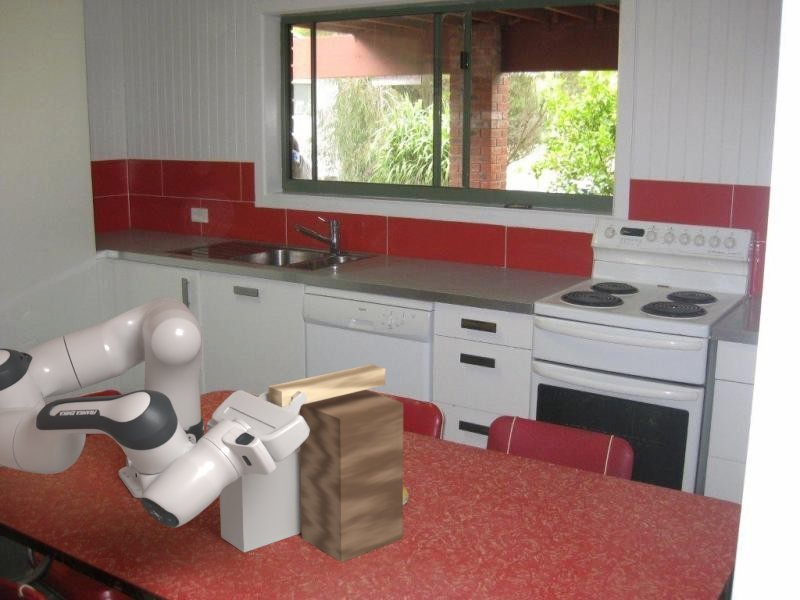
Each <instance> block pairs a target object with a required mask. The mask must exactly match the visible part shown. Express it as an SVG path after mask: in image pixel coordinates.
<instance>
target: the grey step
mask: <svg viewBox="0 0 800 600" xmlns="http://www.w3.org/2000/svg"><path fill="white" fill-rule="evenodd" d="M275 464H276V469H275V470H274V471H273V472H272V473H271V474H269V475H262V474H247V475H246V474H244V473H243V474H242V475H241V476H240V477H239V478H238V479H237V480H236V481H234V482H232V483H230V484H228V485H227V486H226V487H225V488H224V489H223V490H222V491H221V493H220V495H219V509H220V510H219V512H220V519H219V520H220V537H221V539H223V540H224V541H227V542H228V543H229V544H231V545H232V546H233V547H236V549H238V550H239V551H241V552H242V553H247V552H249V551H253V550H257V549H259V548H262V547H265V546H267V545H270V544H273V543H276V542H279V541H282V540H285V539H287V538H291V537H294V536H297V535H299V534H302V519H301V458H300V446H299V447H298V448H297V449H296V450H295V451H294V452H293V453H291V454H290V455H289V456H288V457H287V458H285V459H284V460H282V461H280V462H275Z"/></svg>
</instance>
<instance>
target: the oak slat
mask: <svg viewBox="0 0 800 600" xmlns="http://www.w3.org/2000/svg"><path fill="white" fill-rule="evenodd" d="M382 386H386V368H384V367H380V366H377V365H375V364H371V363H370V364H367V365H362V366H357V367H352V368H346V369H343V370H338V371H334V372H333V371H332V372H329V373H324V374H320V375H314V376H310V377H305V378H301V379H295V380H291V381H287V382H282V383H277V384H274V385H269V386H268V391H269V402H270V403H273V404H275V405H277V406H280V407H282V408H284V407H285V406H286V405H290V403H291V401H292V400H293V399H292V397H291V396H292V395H293V394H295V393H296V392H297V391H300V392H303V393H305V395H306V397H307V401H306V402H305V403H304V404H307V403H311V402H315V401H319V400H324V399H328V398H332V397H336V396H341V395H345V394H349V393H353V392H358V391H362V390H371V389H373V388H378V387H382Z"/></svg>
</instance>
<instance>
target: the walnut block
mask: <svg viewBox="0 0 800 600" xmlns="http://www.w3.org/2000/svg"><path fill="white" fill-rule="evenodd" d="M299 415H301V416H302V417H303V418H304V420H305V421H306V423H307V425H308V427H309V429H310V432H309V436H308V437H307V439H306V440H305V441H304V442H303V443H302V444H301V445H300V458H301V519H302V533H301V539H302V540H303V541H305V542H307V543H308V544H310V545H311V546H313V547H315V548H316V549H318V550H319V551H322V552H324V554H327V555H328V556H330V557H331V558H333V559H335V560H336V561H338V562H340V563H344V562H346V561H349V560H352V559H354V558H357V557H359V556H362V555H365V554H368V553H370V552H372V551H376V550H377V549H380V548H382V547H385V546H389V545H391V544H393V543H396V542H398V541H401V540H403V535H404V534H403V530H404V528H403V527H404V526H403V523H404V522H403V521H404V520H403V513H404V512H403V511H404V510H403V507H404V505H403V487H404V402H401V401H400V400H399V401H398V400H396V399H394V398H391V397H389V396H384V395H383V394H379V393H376V392H374V391H372V390H369V389H366V390H362V391H358V392H353V393H349V394H345V395H341V396H336V397H332V398H328V399H324V400H319V401H315V402H311V403H307V404H303V405H302V406H301V408H300V410H299Z"/></svg>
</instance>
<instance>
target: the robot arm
mask: <svg viewBox="0 0 800 600" xmlns="http://www.w3.org/2000/svg"><path fill="white" fill-rule="evenodd" d="M202 331H203V330H202V328H201V325H200V322H199V321H198V319H197V318H196V316H195V315H194V314H193V313H192V311H191V310H190V309H189V307H188V306H187V305H186V303H183V302H182V301H181V300H179V299H178V298H173V297H168V296H165V297H164V296H163V297H157V298H155V299H152V300H151V301H149V302H148V301H147V303H142V304H141V305H139V306H137V307H134V308H132V309H129V310H127V311H125V312H123V313H121V314H119V315H116V316H115V317H112V318H109V319H108V320H105V321H103V322H100V323H97V324H95V325H92V326H89V327H85V328H82V329H79V330H76V331H73V332H69V333H67V334H64V335H60V336H58V337H56V338H52V339H50V340H48V341H45V342H43V343H39V344H38V345H37V346H35V347H32V348H30V349H28V350H26V351H25V352H23V351H22V352H21V351H19V350H15V349H12V348H0V466H2V467H6V468H9V469H13V470H15V471H21V472H26V473H35V474H42V475H44V474H45V475H52V474H58V473H63V472H64V471H66V470H68V469H69V468H70V467H72V466H73V465H74V464H75V463H76V462H77V460H78V459H79V458H80V456H81V455H82V452H83V451H84V448H85V444H86V438H87V435H88V434H89V435H93V434H95V435H96V434H105V435H106V436H108V437H110V438H111V439H112V440H113V441H115V443H116V444H117V445H119V446H120V448H121V449H122V450H123V452H124V454H125V456H126V459H125V463H126V466H124V467H122V468H120V469H119V470H118V477H119V478H120V480H121V481H122V482H123V484H124V485H125V486H126V488H127V489H128V490H129V493H131V495H132V496H133V497H134V498H136V499H140V503H141V505H142V507H143V509H144V510H145V511H146V512H147V513H148V514H149V516H151V517H152V518H153V519H154V520H155V521H157V522H158V523H159V524H161V525H162V526H165V527H168V528H175V529H176V528H178V527H181V526H183V525H186V524H187V523H188V522H190V521H191V520H193V519H194V518H195V517H197V516H198V515H200V514H201V513H202V512H203V511H204V510H205V509H207V508H208V507H209V506H210V505H211V504H212V503H213V502H215V500H216V499H217V498H219V497H220V493H221V491H222V490H223V489H224V488H225V487H226V486H227V485H228V484H230V483H232V482H234V481H236V480H237V479H238V478H239V477H240V476H241V475H242V474H243V473H244V474H246V475H247V474H262V475H269V474H271V473H272V472H273V471H274V470H275V469H276V464H275V462H280V461H282V460H284V459H285V458H287V457H288V456H289V455H290V454H291V453H293V452H294V451H295V450H296V449H297V448H298V447H299V446H300V445H301V444H302V443H303V442H304V441H305V440H306V439H307V437H308V436H309V432H310V429H309V427H308V425H307V423H306V421H305V420H304V418H303V417H302V416H301V415H300V408H301V406H302V405H303V404H304V403H305V402H306V401H307V397H306V395H305V393H303V392H300V391H297V392H296V393H295V394H293V395H292V396H291V397H292V399H293V400H292V401H291V403H290V405H286V406H285V407H284V408H282V407H280V406H277V405H275V404H273V403H270V402H269V390H267V391H265V392H263V393H261V394H260V395H258V396H256V395H253V394H252V393H249V392H247V391H245V390H242V389H239V390H236V391H234V392H232V393H231V394H230V395H229V396H228V397H227V398H226V399H224V401H223V402H222V403H221V404H220V405H219V406H218V407H217V408H216V409H215V410H214V412H213V414H212V415H211V418H210V419H209V420H208V421H207V423H206V424H207V425H206V429H205V423H204V419H203V417H202V405H201V372H202V371H201V370H202V350H203V349H202V348H203V347H202V346H203V344H202V343H203V341H202V339H203V338H202V337H203V335H202V334H203V332H202ZM143 362H144V385H143V386H144V387H143V389H140V390H135V391H131V392H128V393H122V394H117V395H101V396H100V395H99V396H98V395H97V396H81V397H80V396H78V397H66V398H61V399H56V400H55V399H54V400H52V401H51V402H48V403H47V404H46V401H45V398H51V397H56V396H61V395H65V394H68V393H73V392H76V391H78V390H81V389H84V388H88V387H90V386H94V385H96V384H99V383H103V382H104V381H107V380H111V379H113V378H116V377H119V376H122V375H124V374H126V372H128V371H129V370H131V369H133V368H135V367H136V366H138V365H140V364H142V363H143ZM205 430H206V433H205Z"/></svg>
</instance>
